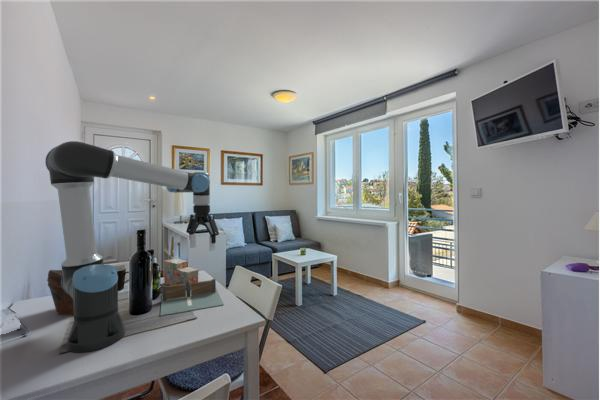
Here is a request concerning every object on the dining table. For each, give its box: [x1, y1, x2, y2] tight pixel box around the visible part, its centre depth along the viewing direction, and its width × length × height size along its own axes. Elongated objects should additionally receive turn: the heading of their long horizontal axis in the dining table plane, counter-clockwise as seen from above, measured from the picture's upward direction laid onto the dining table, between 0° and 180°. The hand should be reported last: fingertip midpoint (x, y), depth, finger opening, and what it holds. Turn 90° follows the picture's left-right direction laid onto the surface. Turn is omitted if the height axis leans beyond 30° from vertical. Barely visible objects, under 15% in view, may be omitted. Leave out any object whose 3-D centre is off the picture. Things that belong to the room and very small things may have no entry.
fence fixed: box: [161, 281, 190, 301], centre depth 123 cm, size 2×11×7 cm, turn 115°
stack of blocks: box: [163, 258, 199, 291], centre depth 142 cm, size 21×6×12 cm, turn 55°
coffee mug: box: [114, 266, 130, 292], centre depth 136 cm, size 12×9×10 cm
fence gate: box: [191, 278, 217, 296], centre depth 128 cm, size 1×11×6 cm, turn 115°
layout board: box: [159, 288, 224, 317], centre depth 122 cm, size 24×24×1 cm
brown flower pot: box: [46, 269, 74, 316], centre depth 114 cm, size 18×20×18 cm
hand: (202, 248), depth 132 cm, fingers open, 13 cm apart
